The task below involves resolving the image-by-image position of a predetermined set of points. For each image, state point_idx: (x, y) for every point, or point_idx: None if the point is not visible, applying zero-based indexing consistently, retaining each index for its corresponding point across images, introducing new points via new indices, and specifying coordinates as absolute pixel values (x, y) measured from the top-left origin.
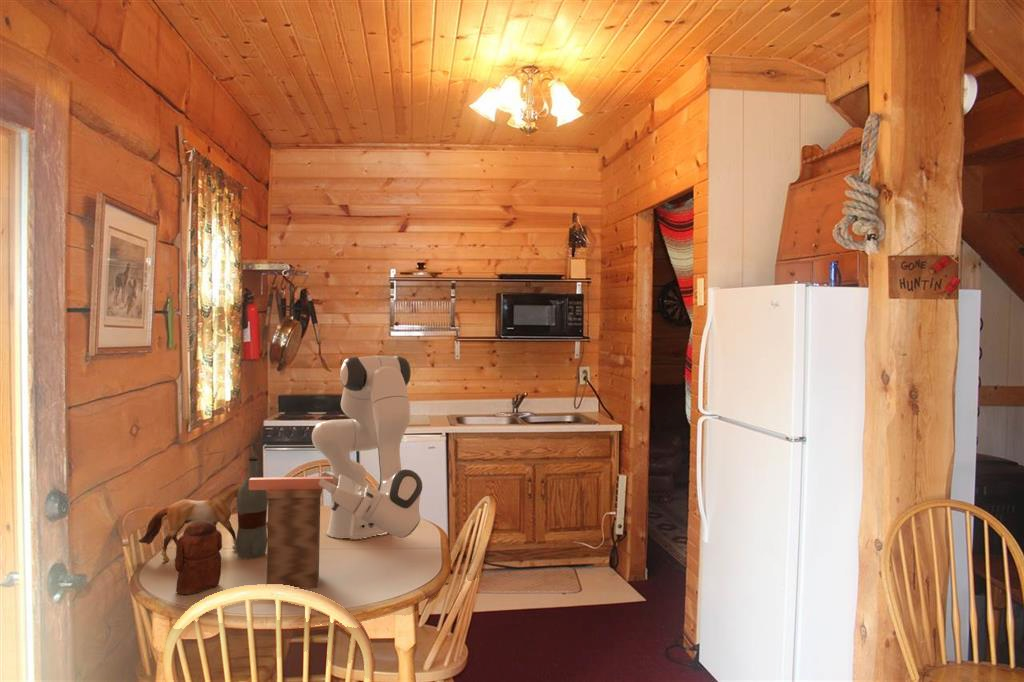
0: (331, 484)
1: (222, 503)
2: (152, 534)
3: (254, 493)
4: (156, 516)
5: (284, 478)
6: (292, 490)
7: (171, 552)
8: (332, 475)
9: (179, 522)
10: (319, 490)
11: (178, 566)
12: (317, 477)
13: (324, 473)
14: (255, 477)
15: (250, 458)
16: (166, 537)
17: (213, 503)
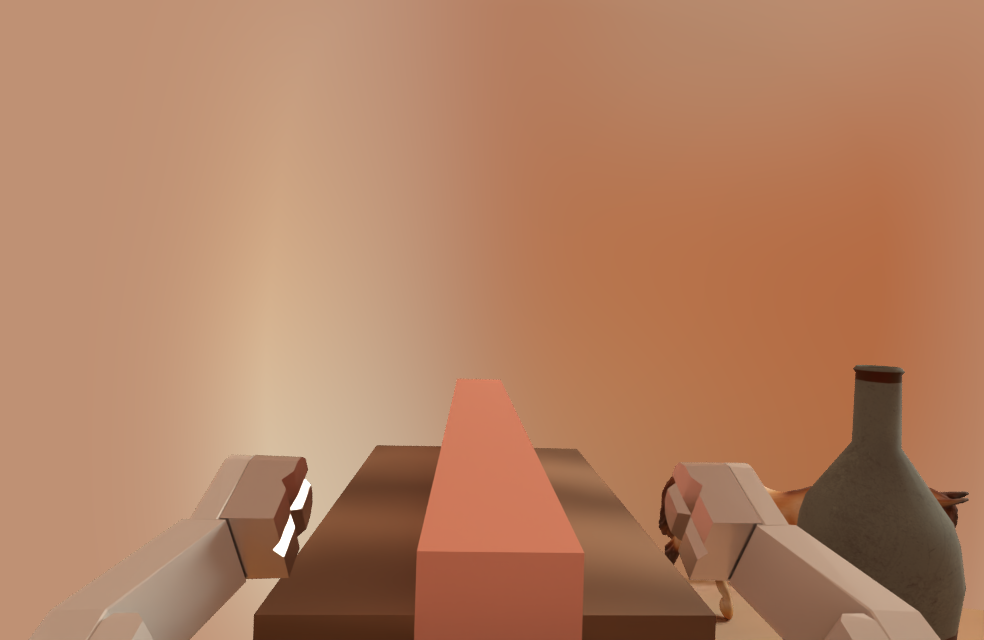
0: (92, 583)
1: None
2: (663, 522)
3: (828, 522)
4: (669, 482)
5: (475, 405)
6: (407, 492)
7: (743, 602)
8: (822, 571)
9: None
10: (339, 604)
11: None
12: (510, 469)
13: (686, 477)
14: (866, 457)
15: (854, 368)
16: (669, 543)
17: (784, 510)
